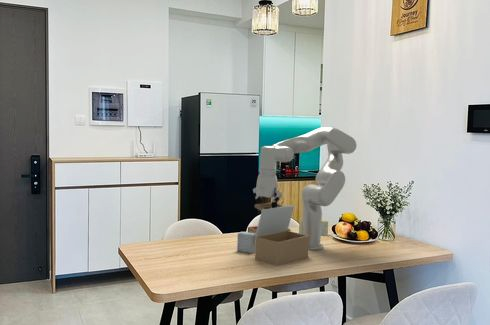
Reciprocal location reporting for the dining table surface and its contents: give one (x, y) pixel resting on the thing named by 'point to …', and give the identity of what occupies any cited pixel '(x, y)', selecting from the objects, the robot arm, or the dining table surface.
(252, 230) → the hardcover book
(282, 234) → the carton
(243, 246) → the medicine box
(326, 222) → the candy box
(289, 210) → the carton lid
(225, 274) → the dining table surface
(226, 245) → the dining table surface
